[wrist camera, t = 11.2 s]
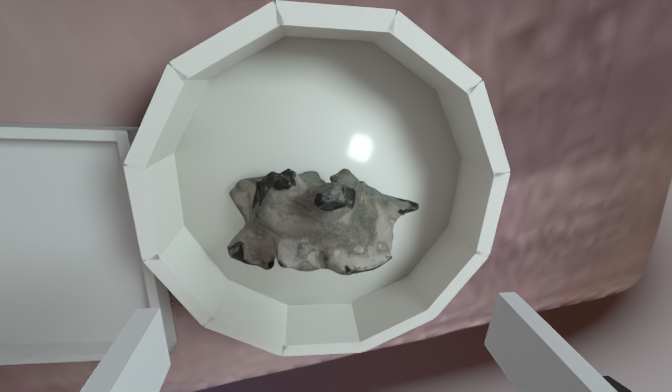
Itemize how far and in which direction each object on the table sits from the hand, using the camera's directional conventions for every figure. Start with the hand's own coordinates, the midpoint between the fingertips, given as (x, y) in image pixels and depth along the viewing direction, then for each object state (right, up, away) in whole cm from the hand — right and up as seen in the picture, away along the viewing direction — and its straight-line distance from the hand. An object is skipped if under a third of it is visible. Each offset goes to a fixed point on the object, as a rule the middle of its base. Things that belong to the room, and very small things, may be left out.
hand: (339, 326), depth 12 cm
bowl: (-1, +6, +16) cm, 17 cm away
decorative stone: (-2, +5, +15) cm, 16 cm away
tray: (-25, 0, +15) cm, 30 cm away
